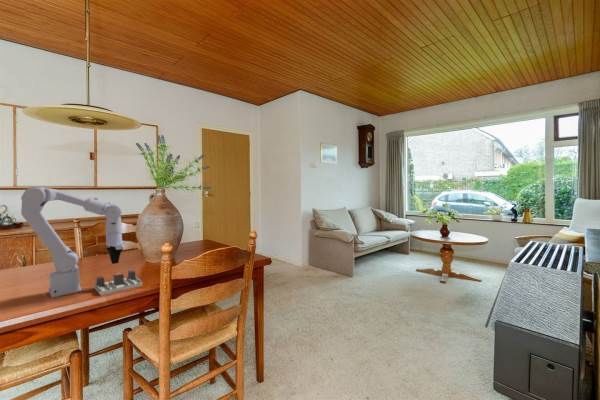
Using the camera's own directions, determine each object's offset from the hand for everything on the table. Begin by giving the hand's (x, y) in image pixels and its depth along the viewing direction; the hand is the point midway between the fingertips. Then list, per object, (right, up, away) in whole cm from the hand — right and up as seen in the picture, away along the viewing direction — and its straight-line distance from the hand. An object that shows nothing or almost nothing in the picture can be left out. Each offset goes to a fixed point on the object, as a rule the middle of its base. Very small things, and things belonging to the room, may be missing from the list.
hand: (115, 263), depth 121 cm
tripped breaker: (+4, -8, -3) cm, 9 cm away
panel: (+3, -10, -3) cm, 10 cm away
